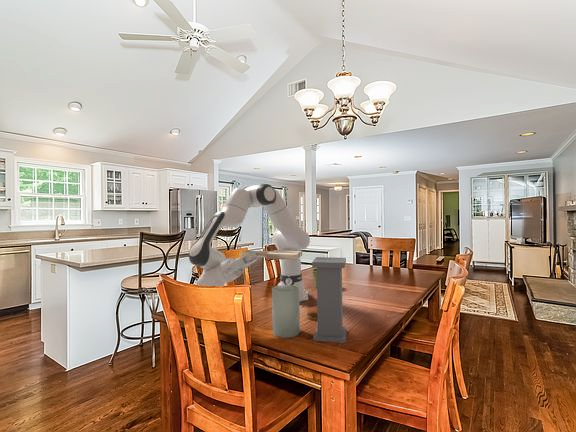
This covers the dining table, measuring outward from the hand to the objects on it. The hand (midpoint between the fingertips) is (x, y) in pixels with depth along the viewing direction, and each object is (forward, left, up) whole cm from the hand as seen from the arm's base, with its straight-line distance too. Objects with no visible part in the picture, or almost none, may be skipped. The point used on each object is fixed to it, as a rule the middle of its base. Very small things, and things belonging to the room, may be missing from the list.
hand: (258, 252), depth 130 cm
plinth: (0, +29, -32) cm, 44 cm away
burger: (-20, +22, -33) cm, 44 cm away
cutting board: (0, +5, -1) cm, 5 cm away
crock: (0, +11, -32) cm, 34 cm away
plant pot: (-75, +16, -32) cm, 83 cm away
